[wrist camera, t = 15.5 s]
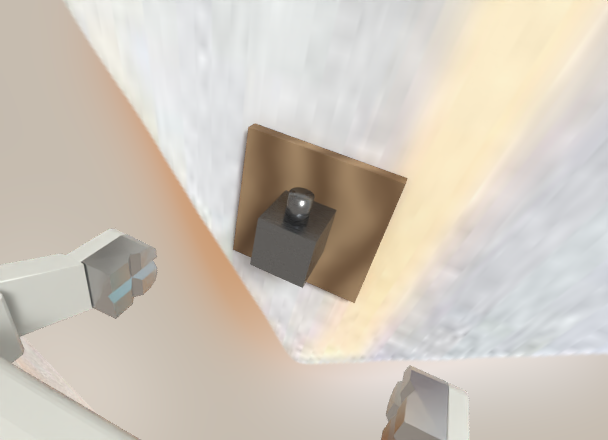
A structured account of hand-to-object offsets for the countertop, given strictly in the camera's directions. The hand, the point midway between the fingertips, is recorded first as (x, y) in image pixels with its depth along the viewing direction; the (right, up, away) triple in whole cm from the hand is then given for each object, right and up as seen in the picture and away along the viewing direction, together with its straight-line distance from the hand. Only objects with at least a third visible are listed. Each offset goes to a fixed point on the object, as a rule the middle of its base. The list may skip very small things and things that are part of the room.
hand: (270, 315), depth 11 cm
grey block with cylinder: (+1, +4, +32) cm, 32 cm away
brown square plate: (+2, +3, +34) cm, 34 cm away
